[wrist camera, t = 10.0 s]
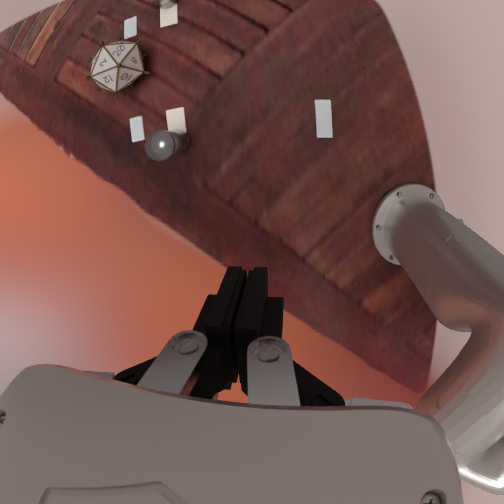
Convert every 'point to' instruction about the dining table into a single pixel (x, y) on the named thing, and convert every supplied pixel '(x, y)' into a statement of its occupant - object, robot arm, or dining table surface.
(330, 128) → the distance lines
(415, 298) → the dining table surface
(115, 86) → the game die
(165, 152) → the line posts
